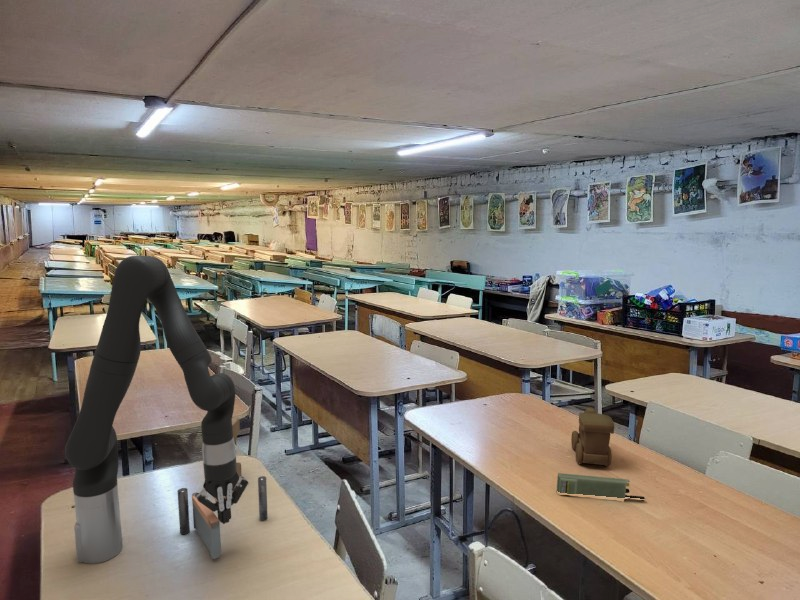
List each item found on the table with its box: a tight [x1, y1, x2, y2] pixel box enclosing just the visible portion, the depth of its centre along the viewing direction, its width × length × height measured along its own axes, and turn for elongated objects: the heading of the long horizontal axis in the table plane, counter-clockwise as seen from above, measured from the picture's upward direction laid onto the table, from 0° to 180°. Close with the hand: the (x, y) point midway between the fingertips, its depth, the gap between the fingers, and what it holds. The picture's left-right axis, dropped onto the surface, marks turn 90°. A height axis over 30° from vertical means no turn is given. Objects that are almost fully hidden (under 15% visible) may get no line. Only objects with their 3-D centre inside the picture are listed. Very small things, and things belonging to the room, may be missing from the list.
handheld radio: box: [556, 472, 646, 500], centre depth 157 cm, size 7×3×25 cm
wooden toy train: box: [570, 407, 615, 467], centre depth 181 cm, size 20×11×17 cm, turn 170°
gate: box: [191, 492, 222, 560], centre depth 132 cm, size 16×2×9 cm, turn 38°
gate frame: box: [177, 475, 268, 536], centre depth 140 cm, size 22×3×12 cm, turn 110°
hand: (224, 521), depth 129 cm, fingers closed
